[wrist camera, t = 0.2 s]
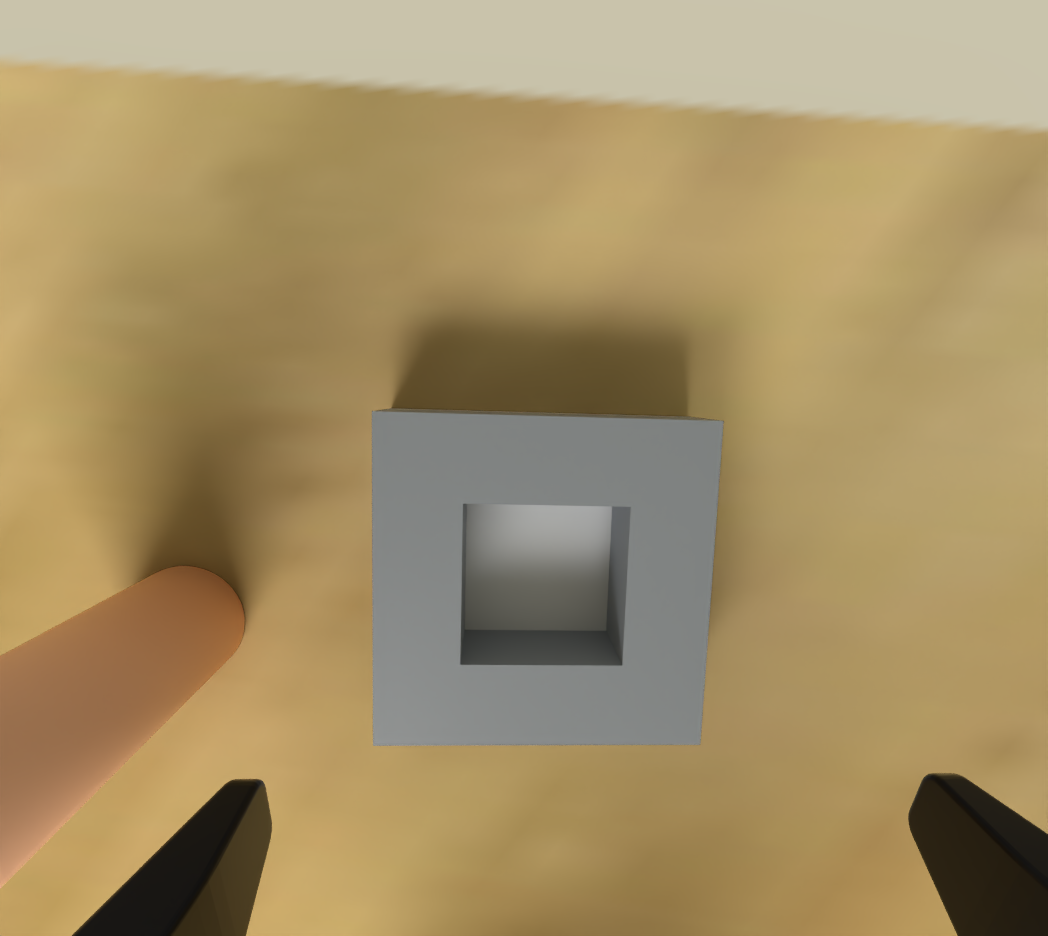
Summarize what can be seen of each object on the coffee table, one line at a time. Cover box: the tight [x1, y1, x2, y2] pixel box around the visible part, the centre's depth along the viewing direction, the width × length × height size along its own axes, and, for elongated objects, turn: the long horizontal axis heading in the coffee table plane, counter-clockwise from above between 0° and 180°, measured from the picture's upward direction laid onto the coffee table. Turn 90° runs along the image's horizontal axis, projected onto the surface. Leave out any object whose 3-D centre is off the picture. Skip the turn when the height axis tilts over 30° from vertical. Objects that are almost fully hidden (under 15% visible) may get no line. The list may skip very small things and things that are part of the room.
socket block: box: [372, 408, 724, 746], centre depth 22 cm, size 12×12×4 cm
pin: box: [0, 566, 245, 888], centre depth 16 cm, size 4×4×14 cm
